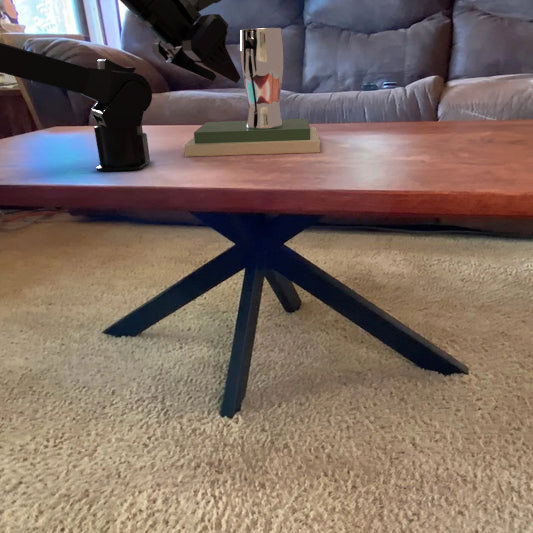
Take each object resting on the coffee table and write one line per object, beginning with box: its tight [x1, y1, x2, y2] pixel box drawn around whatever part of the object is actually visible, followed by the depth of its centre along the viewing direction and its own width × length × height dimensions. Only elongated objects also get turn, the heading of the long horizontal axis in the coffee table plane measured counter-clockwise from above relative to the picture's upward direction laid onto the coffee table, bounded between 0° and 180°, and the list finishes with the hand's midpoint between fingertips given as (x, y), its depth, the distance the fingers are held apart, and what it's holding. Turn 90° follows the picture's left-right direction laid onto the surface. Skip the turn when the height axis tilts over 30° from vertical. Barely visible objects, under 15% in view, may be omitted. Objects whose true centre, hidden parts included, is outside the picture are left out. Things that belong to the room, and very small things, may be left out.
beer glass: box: [239, 27, 285, 129], centre depth 83 cm, size 7×7×15 cm
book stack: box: [183, 118, 321, 158], centre depth 89 cm, size 22×16×4 cm
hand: (225, 79), depth 80 cm, fingers open, 9 cm apart
